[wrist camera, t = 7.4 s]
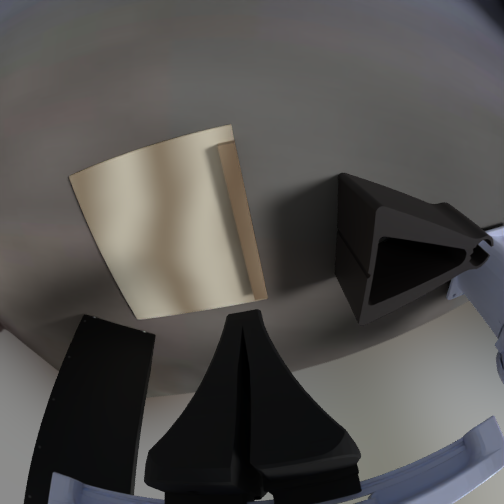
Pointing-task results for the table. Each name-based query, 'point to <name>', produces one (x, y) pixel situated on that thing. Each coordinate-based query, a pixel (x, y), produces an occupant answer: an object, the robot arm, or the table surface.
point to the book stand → (175, 224)
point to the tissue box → (94, 411)
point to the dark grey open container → (398, 247)
